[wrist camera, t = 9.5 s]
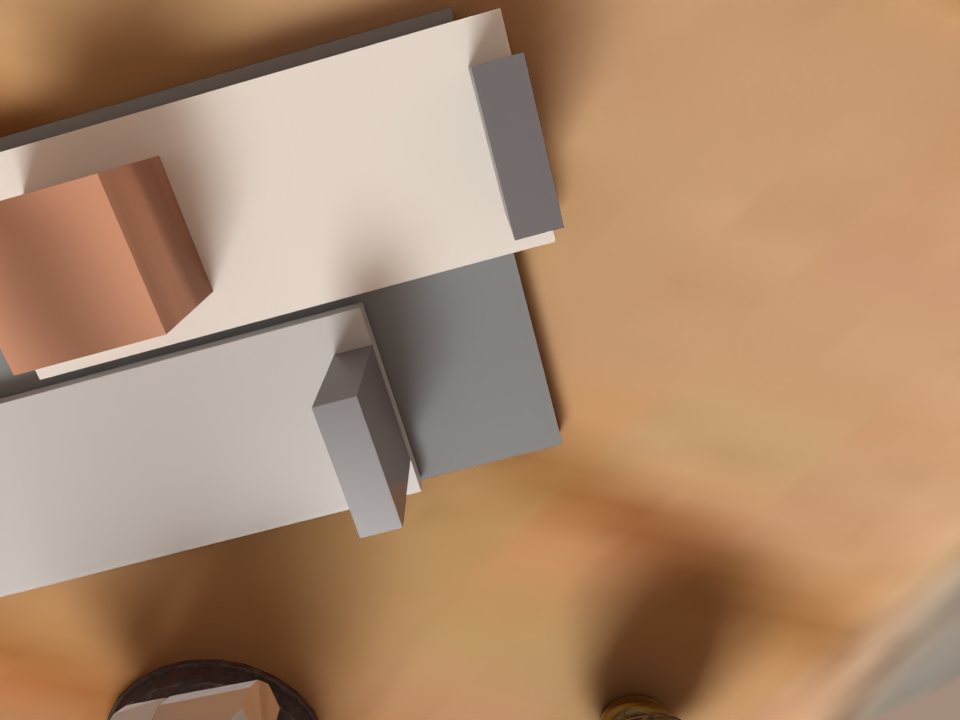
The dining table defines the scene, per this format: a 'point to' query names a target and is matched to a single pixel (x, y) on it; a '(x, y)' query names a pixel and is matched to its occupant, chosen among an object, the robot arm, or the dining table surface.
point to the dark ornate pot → (636, 709)
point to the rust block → (94, 266)
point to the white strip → (332, 173)
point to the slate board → (396, 317)
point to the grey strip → (201, 450)
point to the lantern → (211, 685)
